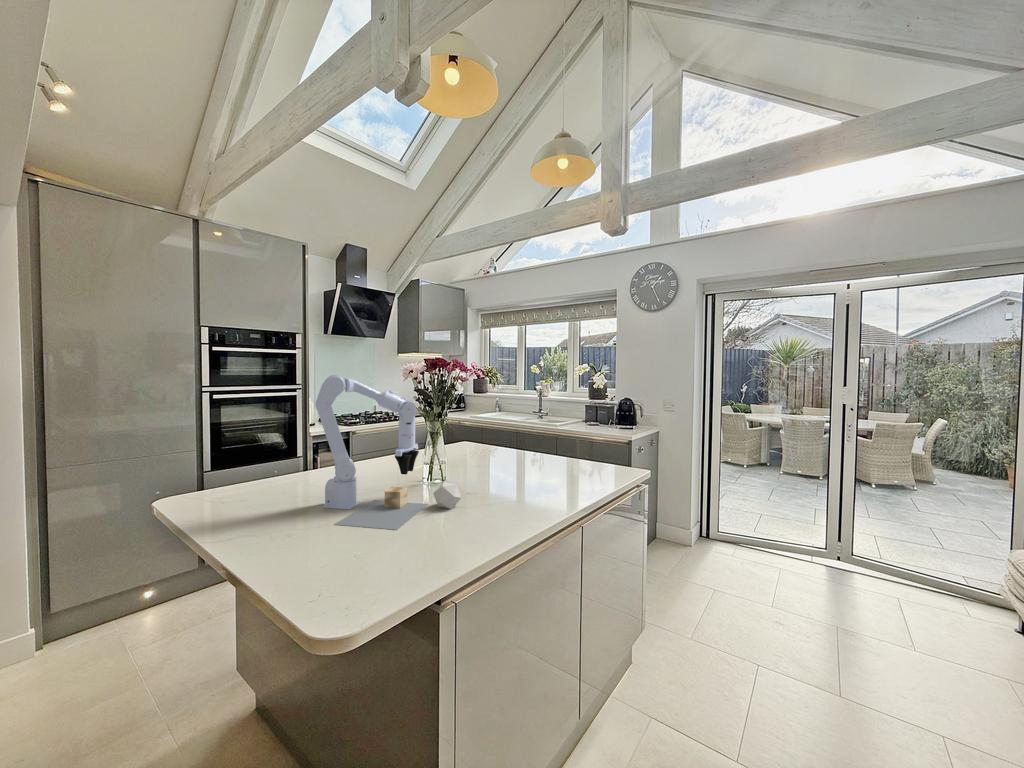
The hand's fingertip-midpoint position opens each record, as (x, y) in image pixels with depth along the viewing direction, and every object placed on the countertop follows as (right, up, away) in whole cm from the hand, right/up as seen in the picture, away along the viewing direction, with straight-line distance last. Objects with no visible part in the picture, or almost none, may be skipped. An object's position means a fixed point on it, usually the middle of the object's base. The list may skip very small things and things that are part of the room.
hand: (406, 472), depth 151 cm
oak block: (-2, -9, -8) cm, 13 cm away
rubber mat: (-3, -10, -16) cm, 19 cm away
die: (+16, -10, -8) cm, 20 cm away
